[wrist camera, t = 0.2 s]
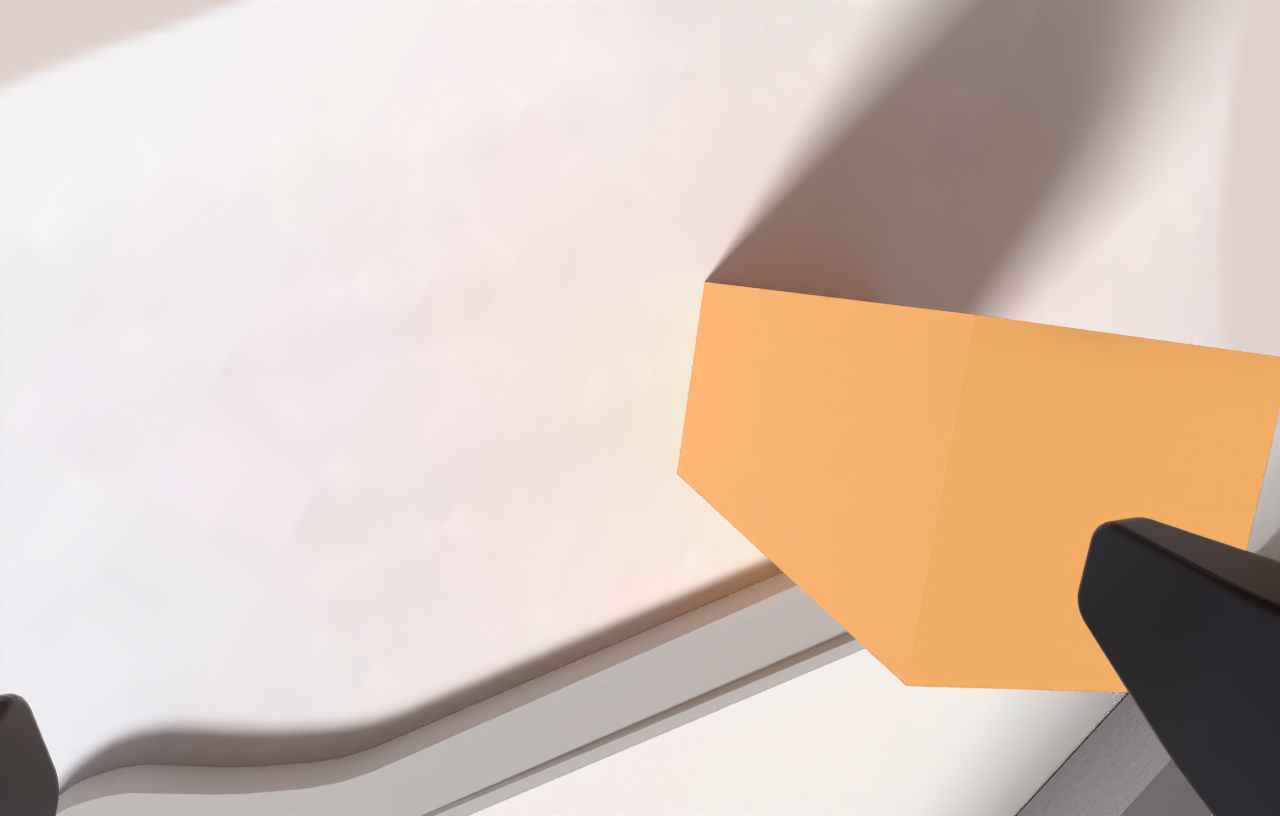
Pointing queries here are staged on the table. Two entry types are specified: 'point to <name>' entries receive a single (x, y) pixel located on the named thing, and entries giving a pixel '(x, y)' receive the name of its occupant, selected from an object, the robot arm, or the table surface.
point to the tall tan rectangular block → (962, 468)
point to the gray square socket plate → (1118, 775)
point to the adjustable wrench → (514, 723)
